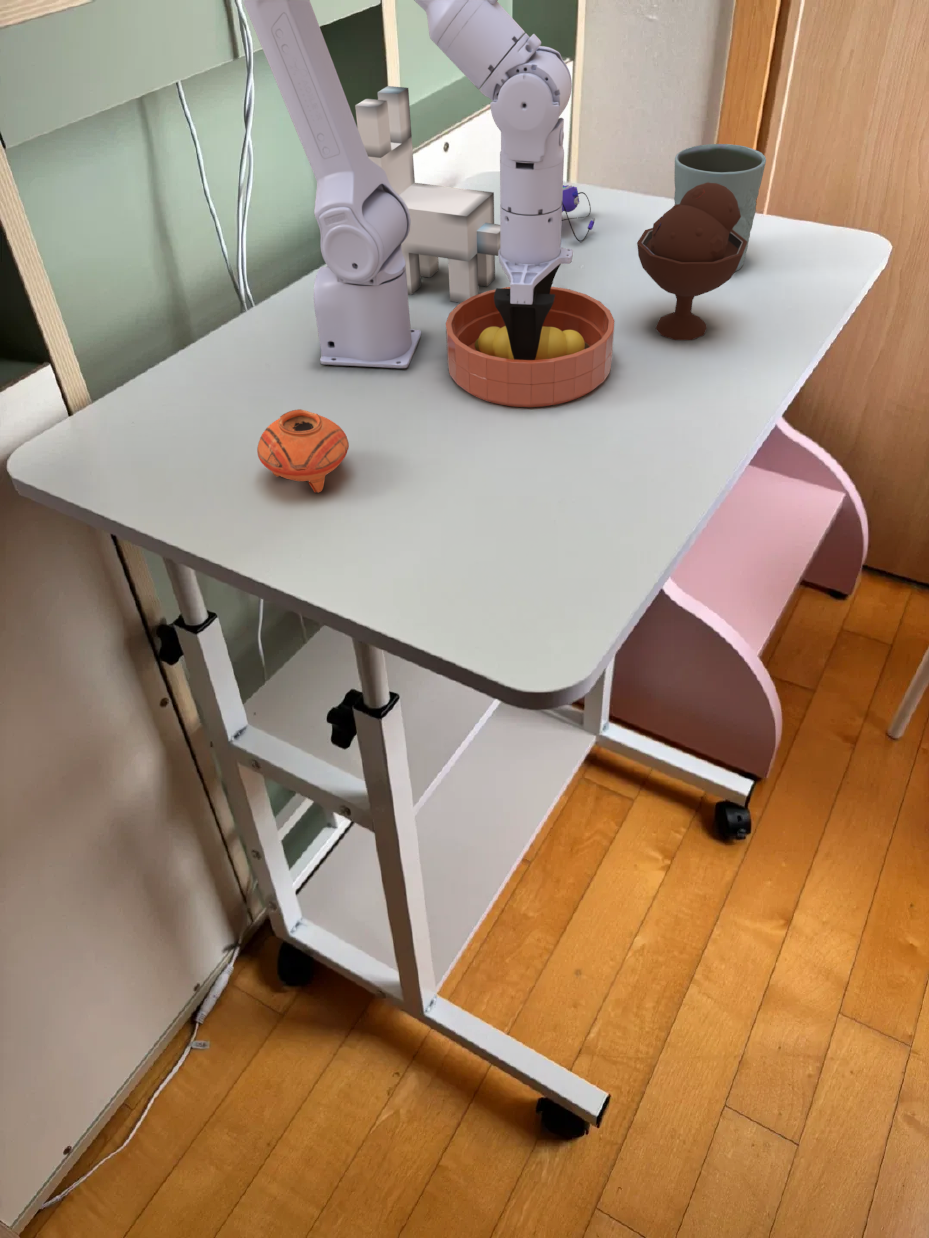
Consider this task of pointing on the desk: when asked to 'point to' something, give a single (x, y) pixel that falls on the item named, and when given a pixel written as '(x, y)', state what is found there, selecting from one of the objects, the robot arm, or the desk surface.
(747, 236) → the grey green cup
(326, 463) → the pot
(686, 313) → the ice cream bowl
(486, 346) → the banana
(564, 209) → the game controller
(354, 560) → the desk surface
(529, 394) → the bowl
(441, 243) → the toy llama
